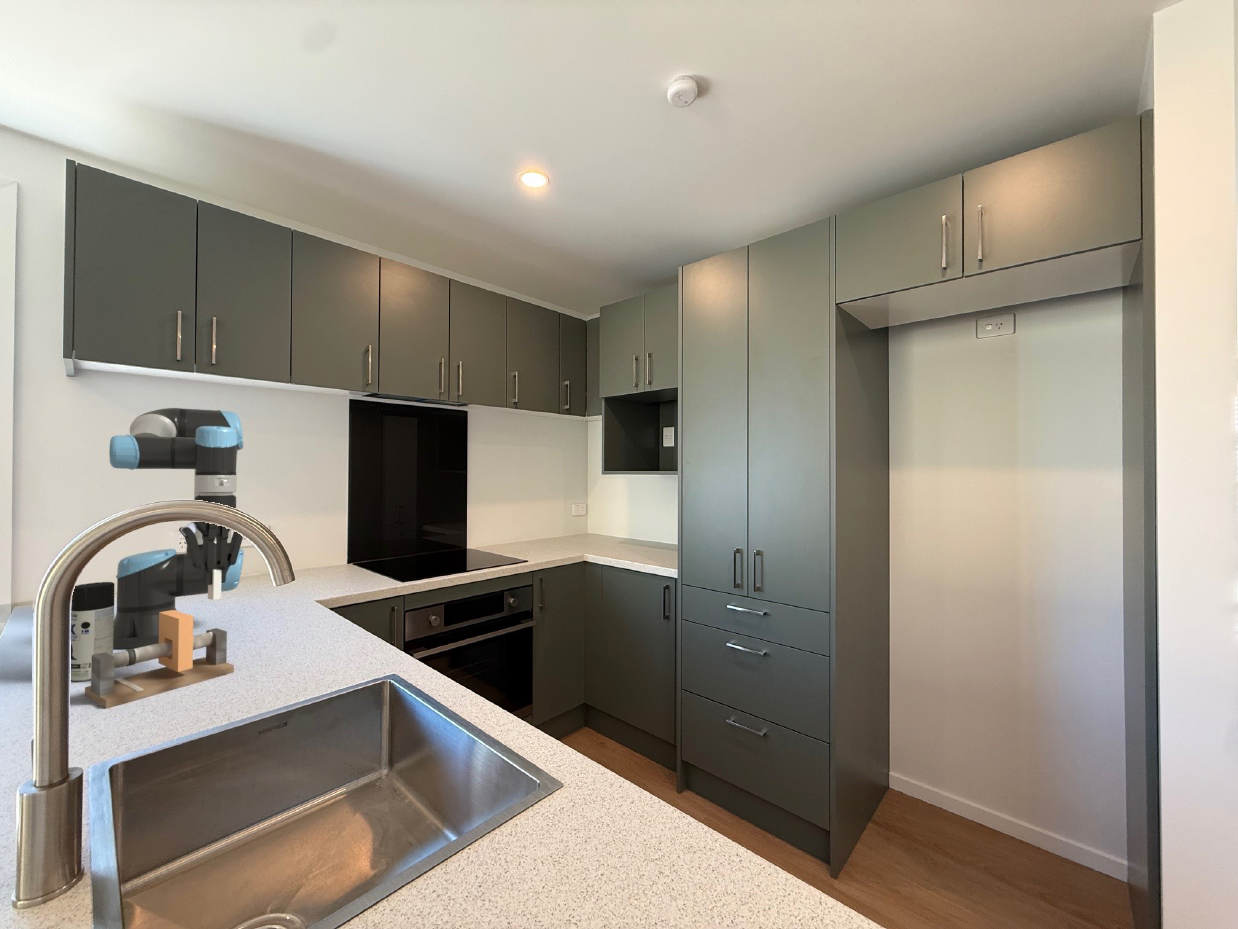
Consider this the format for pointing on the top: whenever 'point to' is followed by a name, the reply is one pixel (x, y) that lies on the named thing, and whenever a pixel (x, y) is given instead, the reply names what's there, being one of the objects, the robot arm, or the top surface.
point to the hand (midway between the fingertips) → (214, 598)
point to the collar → (177, 639)
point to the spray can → (90, 626)
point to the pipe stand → (159, 679)
